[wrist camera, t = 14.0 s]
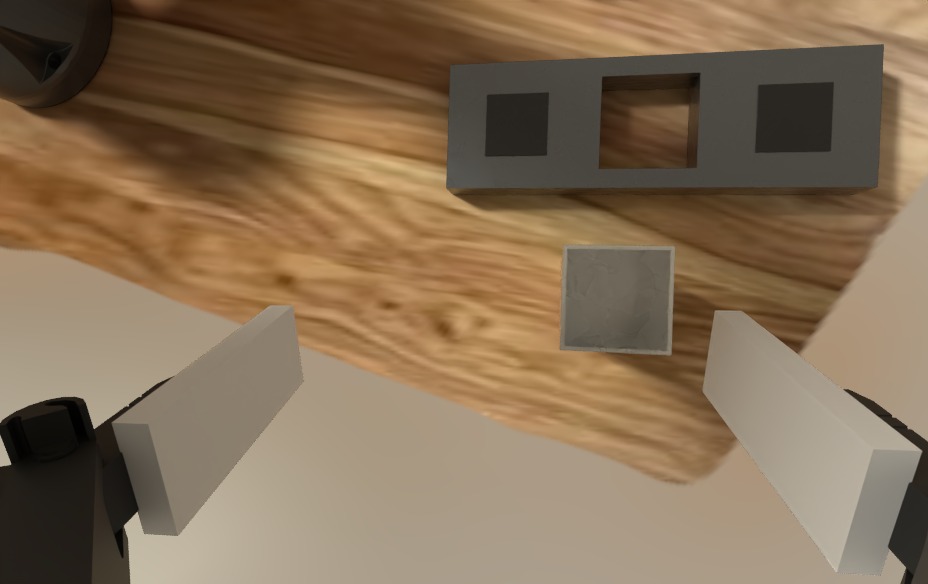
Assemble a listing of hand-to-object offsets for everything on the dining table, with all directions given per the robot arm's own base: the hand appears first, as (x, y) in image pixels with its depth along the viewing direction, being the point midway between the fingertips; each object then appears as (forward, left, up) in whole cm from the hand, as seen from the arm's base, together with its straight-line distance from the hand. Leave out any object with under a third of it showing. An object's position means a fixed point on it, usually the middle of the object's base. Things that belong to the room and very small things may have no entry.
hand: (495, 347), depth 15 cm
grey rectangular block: (+5, +1, -22) cm, 23 cm away
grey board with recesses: (+8, +14, -22) cm, 27 cm away
